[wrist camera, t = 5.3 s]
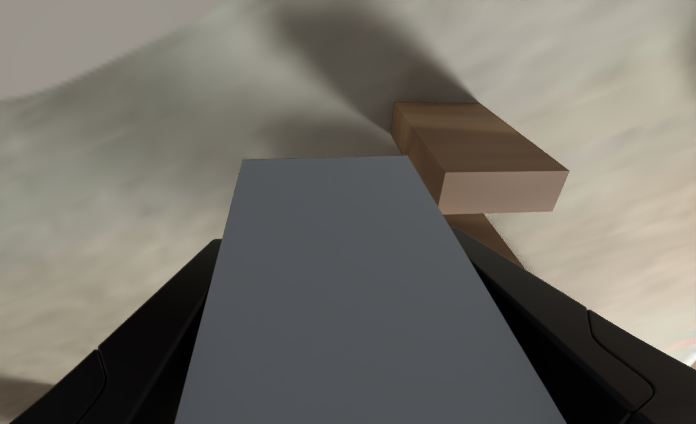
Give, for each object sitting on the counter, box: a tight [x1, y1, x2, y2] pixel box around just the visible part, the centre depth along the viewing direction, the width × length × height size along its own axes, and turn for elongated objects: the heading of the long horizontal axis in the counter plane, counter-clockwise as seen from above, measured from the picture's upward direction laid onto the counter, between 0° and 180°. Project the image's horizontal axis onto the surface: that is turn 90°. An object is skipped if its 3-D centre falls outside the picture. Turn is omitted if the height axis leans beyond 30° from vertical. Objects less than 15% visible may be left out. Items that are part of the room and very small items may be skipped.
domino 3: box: [443, 213, 525, 269], centre depth 20 cm, size 2×5×8 cm, turn 87°
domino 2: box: [391, 102, 569, 215], centre depth 17 cm, size 2×5×8 cm, turn 87°
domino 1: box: [175, 155, 567, 424], centre depth 8 cm, size 2×5×8 cm, turn 88°
